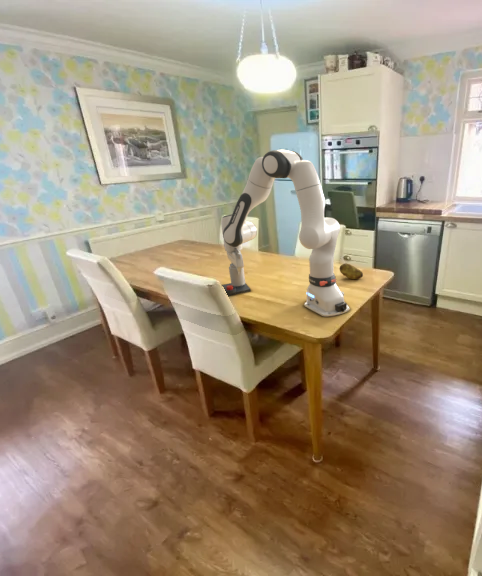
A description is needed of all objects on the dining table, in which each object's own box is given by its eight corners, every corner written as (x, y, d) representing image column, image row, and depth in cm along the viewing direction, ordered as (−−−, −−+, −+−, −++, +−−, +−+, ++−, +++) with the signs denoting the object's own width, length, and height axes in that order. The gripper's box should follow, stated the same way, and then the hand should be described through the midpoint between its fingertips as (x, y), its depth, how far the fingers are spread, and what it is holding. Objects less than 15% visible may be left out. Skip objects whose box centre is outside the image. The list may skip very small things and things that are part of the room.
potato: (356, 282, 174) (356, 268, 171) (337, 277, 182) (337, 264, 179) (364, 278, 180) (364, 264, 177) (345, 273, 187) (345, 260, 184)
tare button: (233, 289, 162) (233, 286, 162) (227, 291, 161) (227, 287, 160) (232, 287, 165) (231, 284, 164) (226, 289, 164) (225, 285, 163)
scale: (251, 292, 166) (250, 286, 165) (226, 297, 160) (225, 291, 159) (243, 282, 178) (242, 277, 177) (220, 287, 173) (219, 282, 171)
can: (242, 287, 168) (239, 266, 163) (229, 287, 169) (225, 265, 164) (247, 282, 174) (245, 261, 170) (235, 282, 176) (232, 261, 171)
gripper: (244, 249, 156) (248, 276, 161) (234, 241, 173) (238, 265, 178) (232, 251, 154) (236, 278, 159) (223, 243, 170) (226, 267, 176)
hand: (237, 271), depth 169 cm, fingers open, 8 cm apart
